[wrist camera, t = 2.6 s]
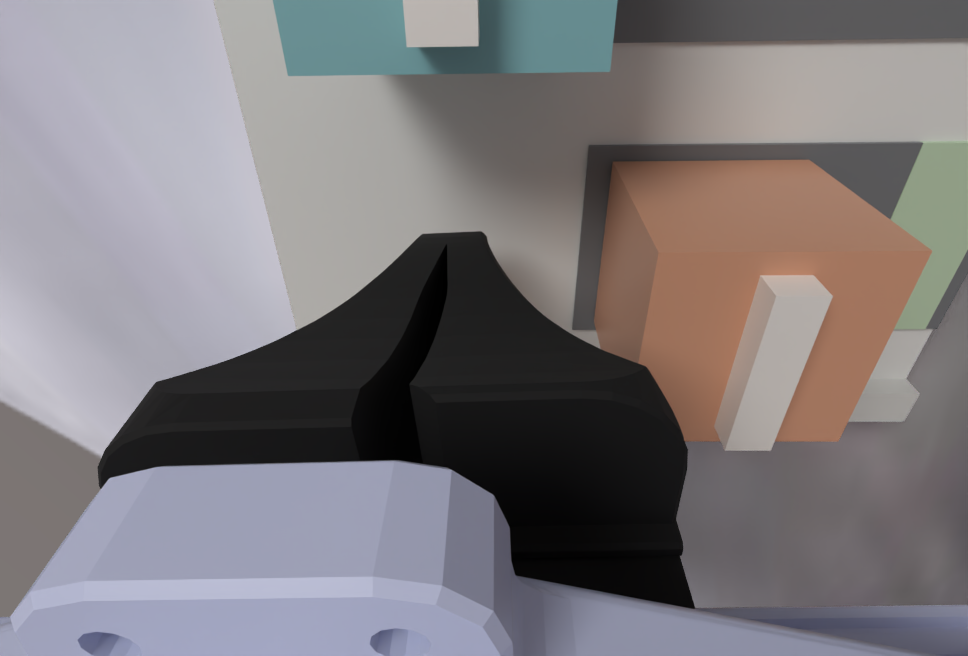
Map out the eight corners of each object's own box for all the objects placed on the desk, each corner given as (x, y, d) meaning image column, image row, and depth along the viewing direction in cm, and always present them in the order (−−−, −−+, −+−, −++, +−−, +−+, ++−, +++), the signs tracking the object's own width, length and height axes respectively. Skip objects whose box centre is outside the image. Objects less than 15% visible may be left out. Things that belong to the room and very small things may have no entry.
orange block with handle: (808, 159, 12) (960, 270, 8) (757, 320, 14) (854, 466, 10) (612, 161, 12) (668, 272, 8) (593, 321, 14) (630, 465, 10)
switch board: (1269, -438, 8) (1444, -521, 6) (867, 378, 17) (904, 421, 15) (147, -403, 8) (72, -474, 7) (326, 379, 17) (310, 421, 15)
